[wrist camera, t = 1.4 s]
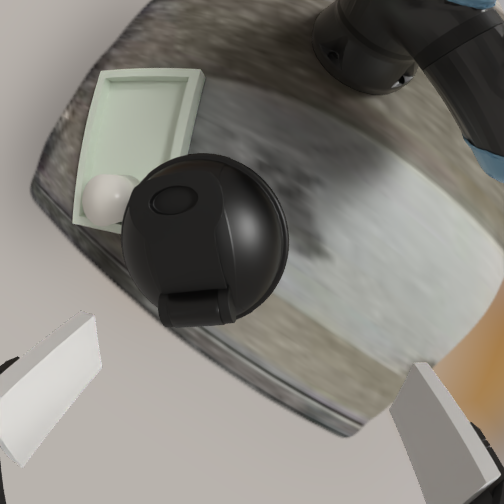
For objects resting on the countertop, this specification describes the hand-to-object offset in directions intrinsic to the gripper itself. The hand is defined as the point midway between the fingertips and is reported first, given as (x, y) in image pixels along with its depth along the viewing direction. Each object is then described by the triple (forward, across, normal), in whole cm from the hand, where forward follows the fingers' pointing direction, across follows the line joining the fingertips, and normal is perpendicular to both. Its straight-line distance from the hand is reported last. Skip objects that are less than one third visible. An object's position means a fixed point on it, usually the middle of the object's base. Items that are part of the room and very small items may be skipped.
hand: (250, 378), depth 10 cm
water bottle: (+27, -4, +3) cm, 27 cm away
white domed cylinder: (+25, -19, +3) cm, 32 cm away
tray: (+26, -19, +10) cm, 34 cm away
